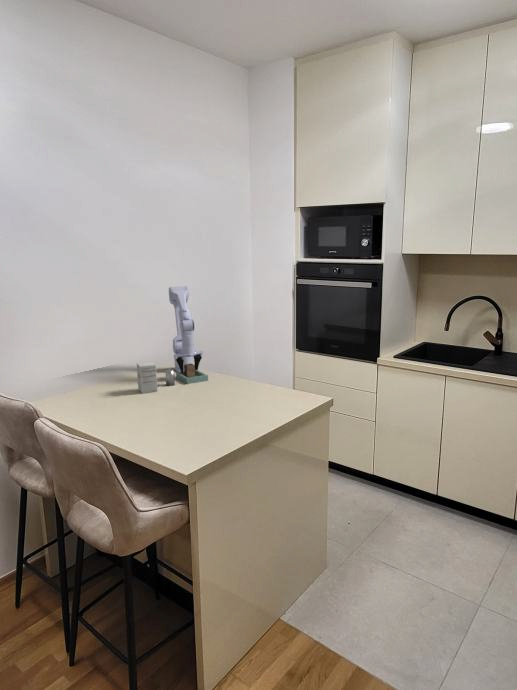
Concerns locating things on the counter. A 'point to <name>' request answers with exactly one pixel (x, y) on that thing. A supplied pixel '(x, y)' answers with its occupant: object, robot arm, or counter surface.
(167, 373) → the grey peg
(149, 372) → the supplement box
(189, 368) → the walnut block
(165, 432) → the counter surface
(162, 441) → the counter surface
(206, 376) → the parts tray
